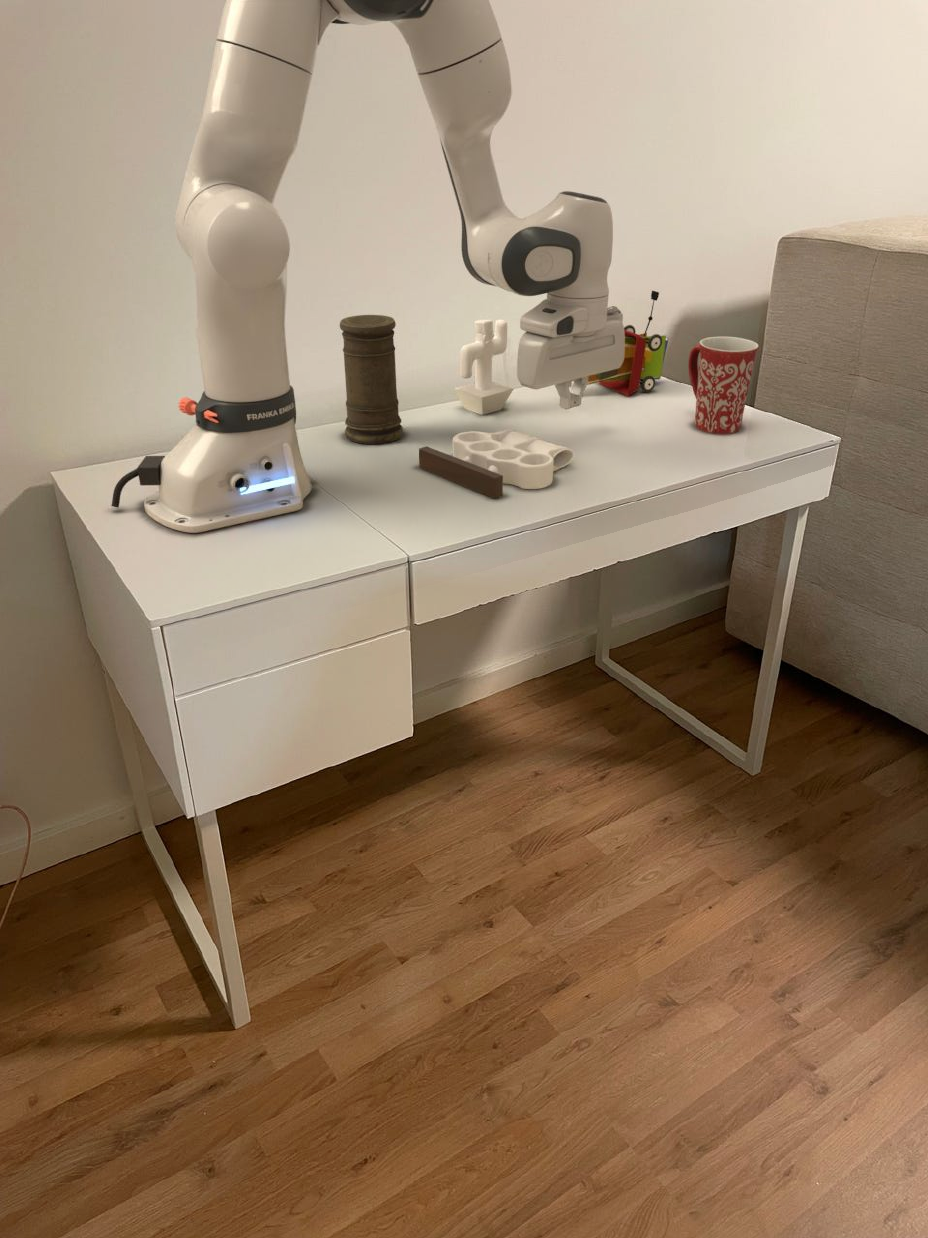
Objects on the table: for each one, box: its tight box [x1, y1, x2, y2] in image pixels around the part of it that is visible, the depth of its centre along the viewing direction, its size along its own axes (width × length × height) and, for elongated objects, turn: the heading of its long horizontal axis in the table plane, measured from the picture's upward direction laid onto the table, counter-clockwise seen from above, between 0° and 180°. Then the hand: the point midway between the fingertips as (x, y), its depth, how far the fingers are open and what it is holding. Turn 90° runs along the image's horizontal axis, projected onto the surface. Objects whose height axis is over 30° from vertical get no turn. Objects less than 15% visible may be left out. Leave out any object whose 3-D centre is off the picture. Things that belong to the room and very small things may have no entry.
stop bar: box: [418, 445, 504, 500], centre depth 136 cm, size 2×16×3 cm, turn 42°
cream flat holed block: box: [452, 428, 574, 490], centre depth 141 cm, size 3×18×15 cm
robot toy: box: [587, 290, 669, 397], centre depth 172 cm, size 17×9×20 cm
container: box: [339, 314, 404, 445], centre depth 150 cm, size 9×9×18 cm
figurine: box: [453, 318, 514, 416], centre depth 162 cm, size 7×9×15 cm
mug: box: [687, 336, 760, 435], centre depth 155 cm, size 13×9×14 cm
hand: (570, 406), depth 148 cm, fingers closed
